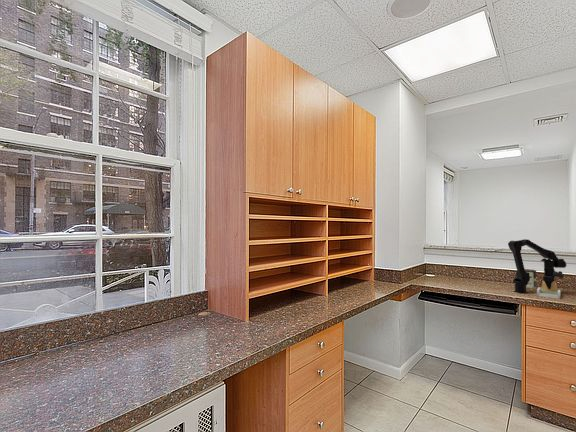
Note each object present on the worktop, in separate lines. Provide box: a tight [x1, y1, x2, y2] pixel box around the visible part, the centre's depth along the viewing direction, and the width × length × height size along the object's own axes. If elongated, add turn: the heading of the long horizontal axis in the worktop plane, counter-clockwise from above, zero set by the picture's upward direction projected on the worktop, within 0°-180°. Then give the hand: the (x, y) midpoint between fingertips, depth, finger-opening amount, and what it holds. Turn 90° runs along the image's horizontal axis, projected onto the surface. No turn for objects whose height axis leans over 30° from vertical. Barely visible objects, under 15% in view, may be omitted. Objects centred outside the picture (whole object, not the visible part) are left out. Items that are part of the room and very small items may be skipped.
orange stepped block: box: [541, 280, 558, 291], centre depth 230 cm, size 6×8×6 cm
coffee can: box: [524, 268, 538, 289], centre depth 253 cm, size 10×10×14 cm
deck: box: [536, 286, 562, 300], centre depth 226 cm, size 28×12×4 cm, turn 137°
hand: (549, 288), depth 230 cm, fingers closed on orange stepped block, 6 cm apart
